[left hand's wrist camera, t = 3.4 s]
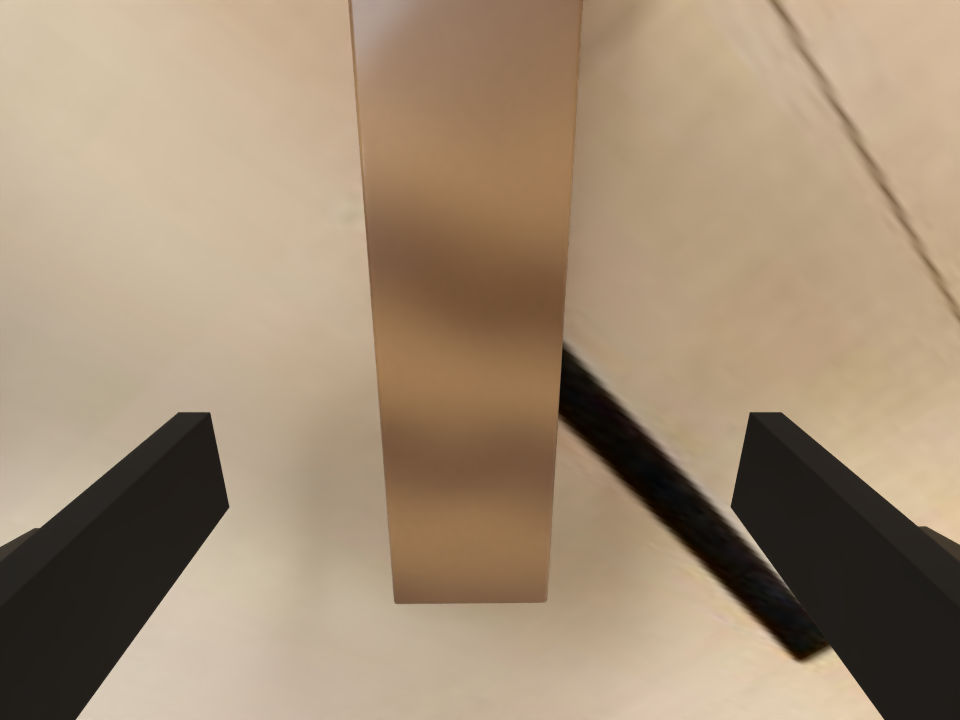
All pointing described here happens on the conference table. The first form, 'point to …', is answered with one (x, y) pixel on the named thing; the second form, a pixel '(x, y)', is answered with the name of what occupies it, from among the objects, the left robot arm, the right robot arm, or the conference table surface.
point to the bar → (467, 280)
